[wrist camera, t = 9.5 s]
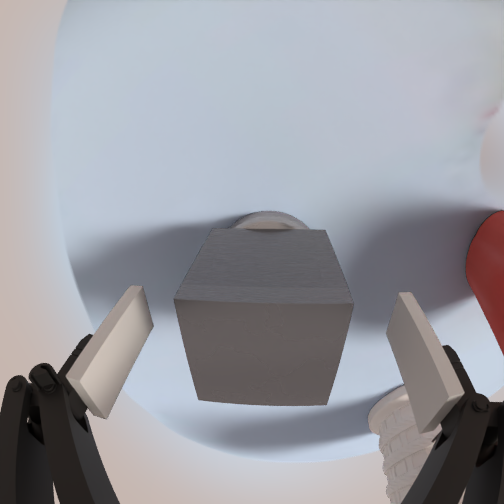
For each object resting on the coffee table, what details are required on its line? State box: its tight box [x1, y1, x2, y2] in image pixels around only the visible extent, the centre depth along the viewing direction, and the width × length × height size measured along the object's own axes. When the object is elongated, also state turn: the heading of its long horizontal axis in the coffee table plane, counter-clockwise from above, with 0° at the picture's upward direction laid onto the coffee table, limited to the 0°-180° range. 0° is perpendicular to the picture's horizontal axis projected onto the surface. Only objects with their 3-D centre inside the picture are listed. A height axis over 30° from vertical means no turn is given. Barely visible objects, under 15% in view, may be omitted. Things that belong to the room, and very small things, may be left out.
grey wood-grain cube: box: [174, 228, 354, 406], centre depth 14 cm, size 6×6×7 cm
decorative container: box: [368, 385, 466, 504], centre depth 18 cm, size 12×12×18 cm
